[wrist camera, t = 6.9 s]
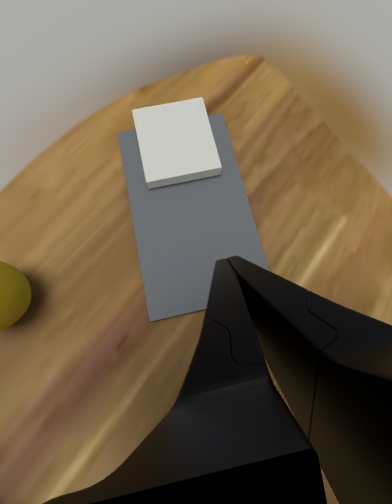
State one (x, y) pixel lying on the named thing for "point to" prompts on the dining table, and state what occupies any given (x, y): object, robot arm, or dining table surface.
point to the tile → (176, 143)
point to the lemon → (12, 295)
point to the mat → (188, 227)
